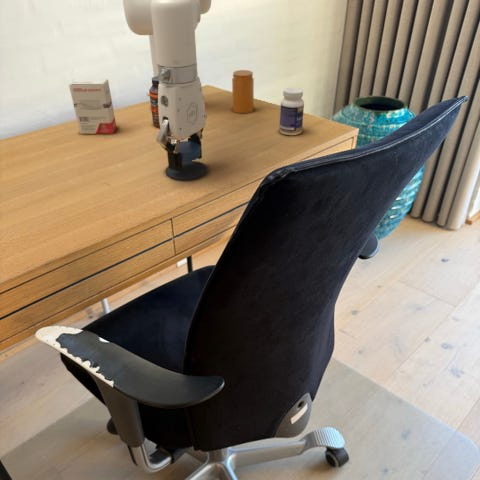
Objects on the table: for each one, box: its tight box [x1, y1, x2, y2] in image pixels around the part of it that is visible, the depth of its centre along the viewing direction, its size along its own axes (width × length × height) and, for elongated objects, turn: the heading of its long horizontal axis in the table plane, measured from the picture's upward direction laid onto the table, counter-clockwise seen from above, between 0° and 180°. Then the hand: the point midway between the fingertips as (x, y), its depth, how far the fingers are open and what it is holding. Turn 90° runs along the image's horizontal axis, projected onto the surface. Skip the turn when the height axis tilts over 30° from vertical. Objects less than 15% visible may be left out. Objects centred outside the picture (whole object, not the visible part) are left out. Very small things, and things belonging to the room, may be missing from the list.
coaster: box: [165, 160, 208, 182], centre depth 103 cm, size 9×9×1 cm
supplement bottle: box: [148, 76, 160, 128], centre depth 121 cm, size 6×6×11 cm
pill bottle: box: [279, 87, 305, 136], centre depth 117 cm, size 6×6×10 cm
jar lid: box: [171, 140, 201, 161], centre depth 100 cm, size 6×6×2 cm
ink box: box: [68, 78, 117, 135], centre depth 118 cm, size 8×5×12 cm, turn 89°
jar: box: [231, 69, 255, 114], centre depth 129 cm, size 6×6×10 cm
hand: (185, 162), depth 102 cm, fingers closed on jar lid, 6 cm apart
